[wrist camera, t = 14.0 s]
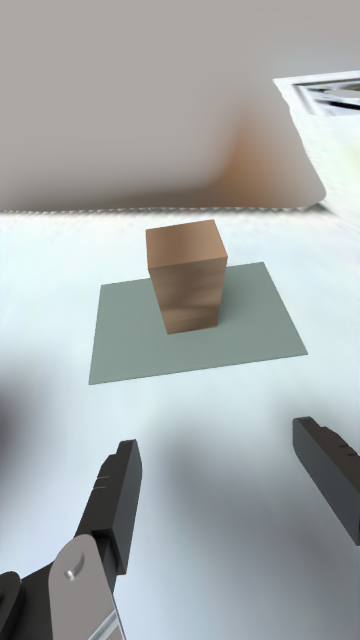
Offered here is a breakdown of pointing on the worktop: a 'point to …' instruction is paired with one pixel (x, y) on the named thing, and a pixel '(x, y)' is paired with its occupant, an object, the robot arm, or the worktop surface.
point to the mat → (193, 346)
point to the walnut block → (187, 274)
